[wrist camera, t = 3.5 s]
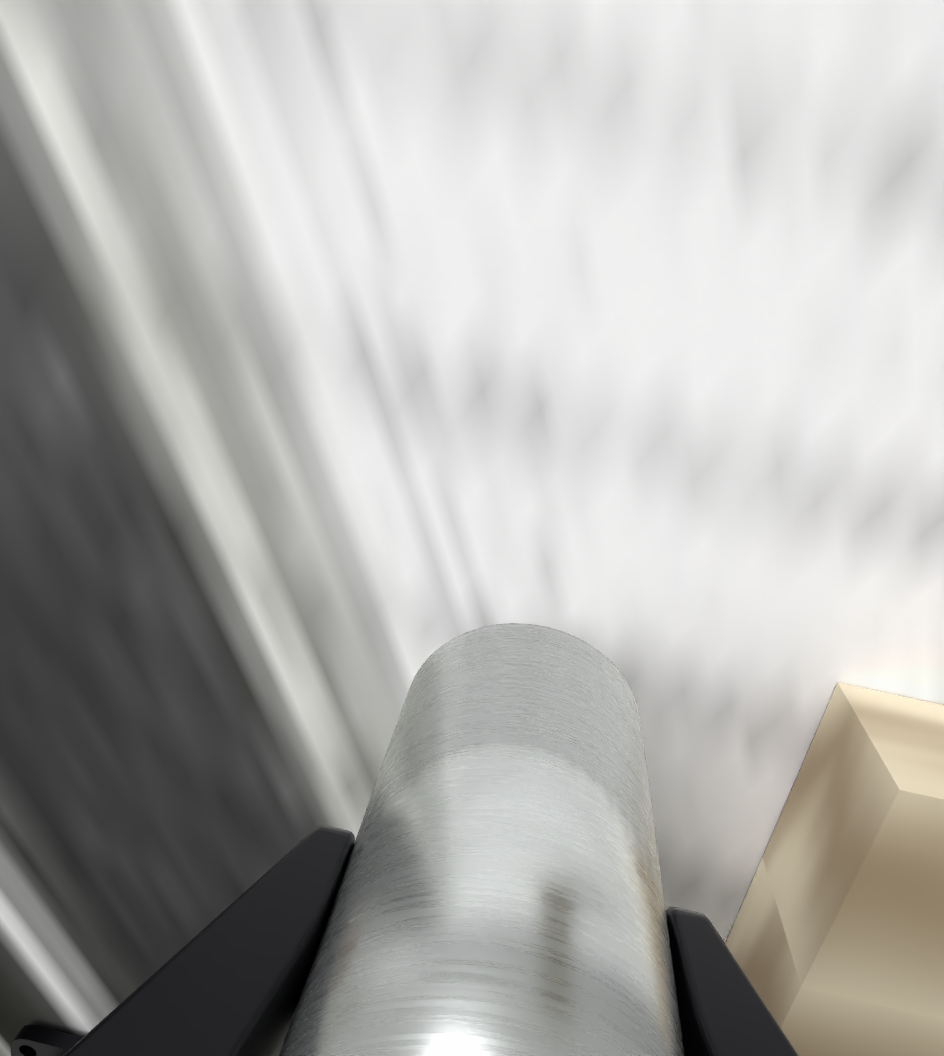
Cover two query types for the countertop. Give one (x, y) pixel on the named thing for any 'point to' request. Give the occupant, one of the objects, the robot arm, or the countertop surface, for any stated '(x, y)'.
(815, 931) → the hole board
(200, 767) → the countertop surface
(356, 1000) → the tall steel pin
